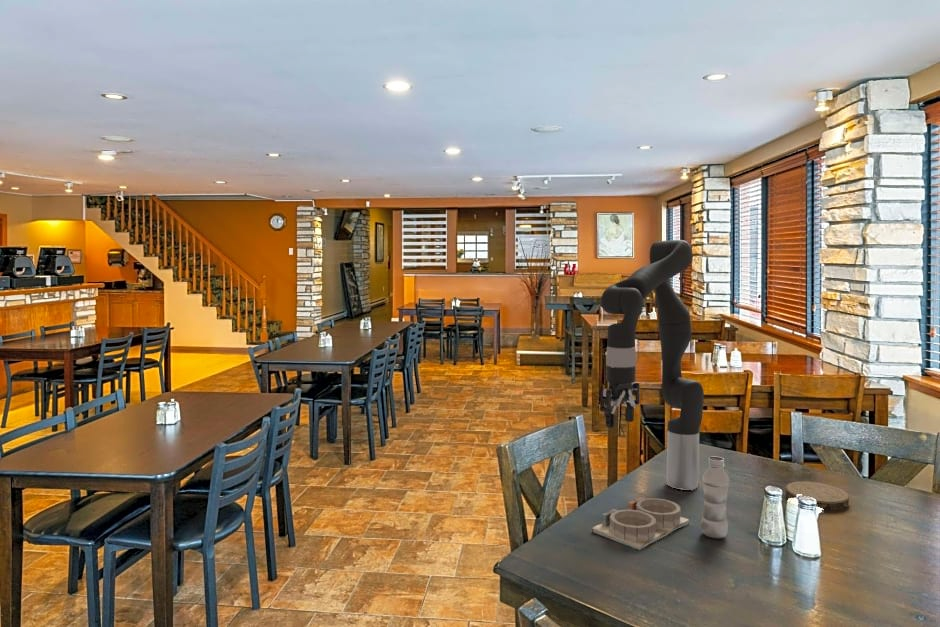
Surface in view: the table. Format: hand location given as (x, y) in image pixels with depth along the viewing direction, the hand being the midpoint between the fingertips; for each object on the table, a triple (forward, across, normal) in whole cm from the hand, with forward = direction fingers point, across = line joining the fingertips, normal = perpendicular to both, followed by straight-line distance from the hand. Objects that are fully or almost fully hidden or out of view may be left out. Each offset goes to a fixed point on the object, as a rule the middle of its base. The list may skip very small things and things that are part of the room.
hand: (619, 424), depth 169 cm
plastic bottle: (+26, -10, +22) cm, 36 cm away
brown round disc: (+27, -54, +30) cm, 67 cm away
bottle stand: (+26, 0, +7) cm, 27 cm away
